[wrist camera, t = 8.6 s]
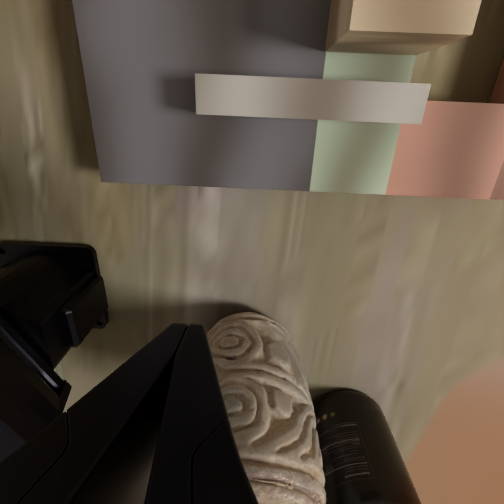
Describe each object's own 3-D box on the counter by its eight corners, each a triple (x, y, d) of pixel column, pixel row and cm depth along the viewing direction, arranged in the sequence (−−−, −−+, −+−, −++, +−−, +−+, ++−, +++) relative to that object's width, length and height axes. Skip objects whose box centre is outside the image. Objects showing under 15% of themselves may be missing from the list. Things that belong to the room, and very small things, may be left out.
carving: (280, 380, 25) (297, 583, 14) (193, 352, 24) (140, 548, 13) (316, 322, 23) (369, 515, 12) (221, 288, 22) (184, 465, 11)
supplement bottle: (395, 419, 27) (489, 628, 16) (330, 450, 29) (374, 656, 18) (354, 373, 25) (429, 578, 14) (285, 410, 27) (305, 616, 16)
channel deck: (120, 173, 19) (81, 190, 14) (64, -247, 12) (-37, -433, 8) (486, 189, 19) (550, 211, 14) (632, -222, 12) (827, -395, 8)
